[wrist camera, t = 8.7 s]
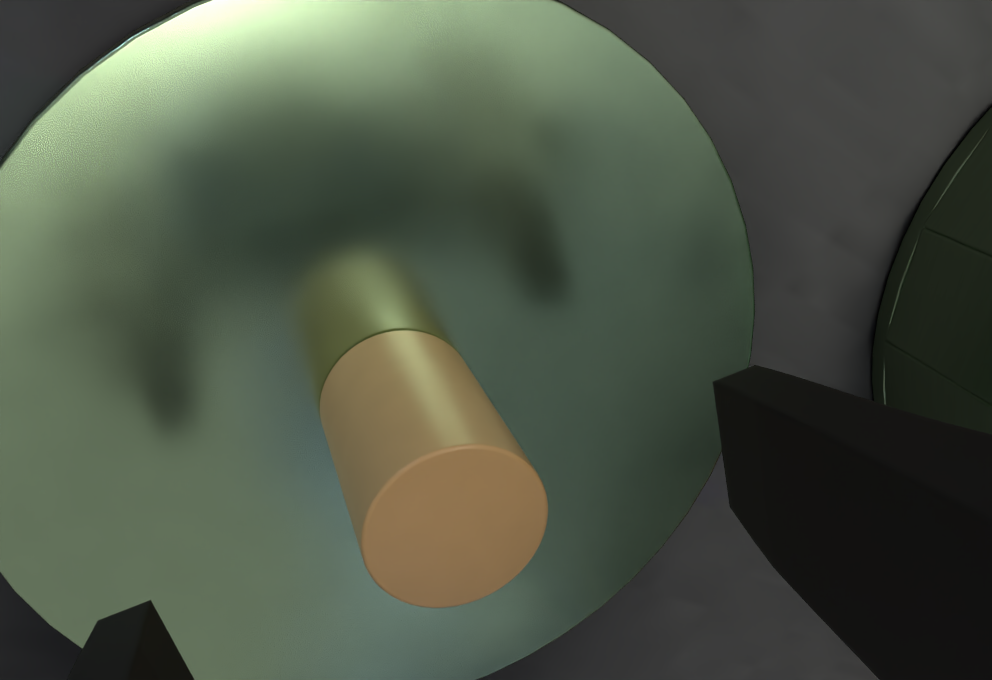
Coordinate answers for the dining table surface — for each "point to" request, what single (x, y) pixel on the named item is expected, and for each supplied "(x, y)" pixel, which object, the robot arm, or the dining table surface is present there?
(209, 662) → the lid
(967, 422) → the tin
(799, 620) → the dining table surface
